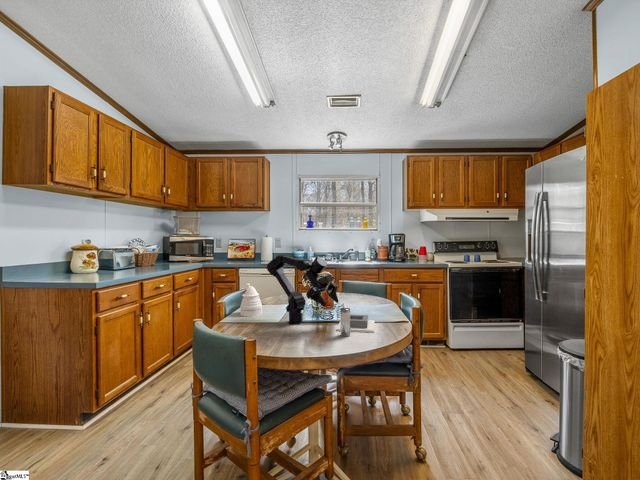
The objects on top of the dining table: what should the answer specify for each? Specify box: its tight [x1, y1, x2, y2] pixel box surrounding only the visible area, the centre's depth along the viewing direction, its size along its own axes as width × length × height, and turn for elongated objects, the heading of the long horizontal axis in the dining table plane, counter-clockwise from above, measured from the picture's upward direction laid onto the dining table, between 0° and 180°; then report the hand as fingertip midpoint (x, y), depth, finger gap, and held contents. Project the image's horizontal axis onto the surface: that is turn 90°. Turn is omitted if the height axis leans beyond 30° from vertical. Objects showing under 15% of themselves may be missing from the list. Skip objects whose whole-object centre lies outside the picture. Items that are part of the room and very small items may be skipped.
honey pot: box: [239, 283, 263, 318], centre depth 195 cm, size 13×13×18 cm
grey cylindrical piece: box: [339, 307, 351, 338], centre depth 152 cm, size 4×4×12 cm
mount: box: [336, 313, 376, 333], centre depth 166 cm, size 18×18×4 cm
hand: (331, 304), depth 157 cm, fingers open, 9 cm apart
